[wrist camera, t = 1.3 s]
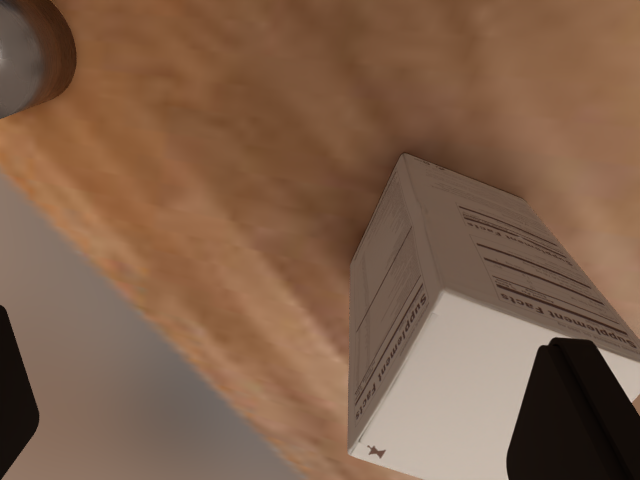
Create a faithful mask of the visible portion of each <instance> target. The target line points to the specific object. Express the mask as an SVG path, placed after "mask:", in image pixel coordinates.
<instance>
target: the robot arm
mask: <svg viewBox="0 0 640 480" xmlns="http://www.w3.org/2000/svg"><path fill="white" fill-rule="evenodd" d="M38 423H39V411H38V408H37V405H36V402H35V398H34V395H33V392H32V389H31V386H30V383H29V380H28V376H27V373H26V370H25V367H24V364H23V361H22V358H21V355H20V352H19V348H18V345H17V342H16V339H15V336H14V333H13V330H12V327H11V324H10V320H9V317H8V314H7V311H6V309H5V308H4V307H3V306H1V305H0V480H1V479H2V478H3V476H4V475H5V473H6V472H7V471H8V469H9V468H10V467H11V465H12V464H13V462H14V461H15V460H16V458H17V457H18V455H19V454H20V453H21V451H22V450H23V449H24V447H25V446H26V444H27V443H28V442H29V440H30V439H31V437H32V436H33V435H34V433H35V431H36V429H37V427H38ZM506 469H507V475H508V479H509V480H640V416H639V414H638V413H637V411H636V409H635V408H634V406H633V405H632V403H631V401H630V400H629V398H628V396H627V395H626V393H625V392H624V390H623V388H622V387H621V385H620V384H619V382H618V380H617V379H616V377H615V375H614V374H613V372H612V371H611V369H610V367H609V366H608V364H607V363H606V361H605V359H604V358H603V356H602V354H601V353H600V351H599V350H598V348H597V346H596V345H595V344H594V343H593V341H591V340H587V339H574V338H560V337H555V338H552V339H551V340H550V342H549V344H548V345H541V346H540V347H539V348H538V350H537V353H536V357H535V360H534V363H533V367H532V370H531V374H530V377H529V380H528V384H527V387H526V390H525V394H524V397H523V401H522V404H521V407H520V411H519V414H518V418H517V421H516V424H515V428H514V431H513V434H512V438H511V441H510V445H509V448H508V451H507V456H506Z"/></svg>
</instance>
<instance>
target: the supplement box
mask: <svg viewBox="0 0 640 480" xmlns="http://www.w3.org/2000/svg"><path fill="white" fill-rule="evenodd" d="M349 309H350V313H349V314H350V316H349V379H348V454H349V455H351V456H353V457H356V458H359V459H362V460H365V461H368V462H371V463H374V464H377V465H380V466H383V467H386V468H389V469H392V470H395V471H399V472H402V473H405V474H408V475H411V476H414V477H418V478H421V479H424V480H509V479H508V475H507V469H506V456H507V451H508V448H509V445H510V441H511V438H512V434H513V431H514V428H515V424H516V421H517V418H518V414H519V411H520V407H521V404H522V401H523V397H524V394H525V390H526V387H527V384H528V380H529V377H530V374H531V370H532V367H533V363H534V360H535V357H536V353H537V350H538V348H539V347H540V346H541V345H548V344H549V342H550V340H551V339H552V338H555V337H560V338H574V339H587V340H591V341H593V343H594V344H595V345H596V346H597V348H598V350H599V351H600V353H601V354H602V356H603V358H604V359H605V361H606V363H607V364H608V366H609V367H610V369H611V371H612V372H613V374H614V375H615V377H616V379H617V380H618V382H619V384H620V385H621V387H622V388H623V390H624V392H625V393H626V395H627V396H628V398H629V400H630V401H631V403H632V402H633V401H634V400H635V398H636V397H637V396H638V395H639V394H640V340H639V339H638V337H637V336H636V335H635V334H634V333H633V331H632V330H631V329H630V328H629V326H628V325H627V324H626V323H625V322H624V320H623V319H622V318H621V317H620V315H619V314H618V313H617V312H616V311H615V309H614V308H613V307H612V306H611V305H610V303H609V302H608V301H607V300H606V298H605V297H604V296H603V295H602V294H601V292H600V291H599V290H598V289H597V288H596V286H595V285H594V284H593V283H592V281H591V280H590V279H589V278H588V276H587V275H586V274H585V273H584V272H583V270H582V269H581V268H580V267H579V265H578V264H577V263H576V262H575V261H574V259H573V258H572V257H571V256H570V255H569V253H568V252H567V251H566V250H565V248H564V247H563V246H562V245H561V244H560V242H559V241H558V240H557V239H556V238H555V236H554V235H553V234H552V233H551V232H550V230H549V229H548V228H547V227H546V226H545V224H544V223H543V222H542V221H541V219H540V218H539V217H538V216H537V214H536V213H535V212H534V211H533V210H532V208H531V207H530V206H529V205H528V203H527V202H526V201H525V200H524V199H522V198H519V197H517V196H514V195H512V194H509V193H507V192H504V191H502V190H499V189H497V188H494V187H492V186H489V185H487V184H484V183H481V182H479V181H476V180H474V179H471V178H469V177H466V176H463V175H461V174H458V173H456V172H453V171H451V170H448V169H445V168H443V167H440V166H438V165H435V164H433V163H430V162H427V161H425V160H422V159H420V158H417V157H415V156H412V155H409V154H407V153H403V154H402V155H401V156H400V158H399V160H398V162H397V164H396V166H395V168H394V170H393V172H392V174H391V176H390V179H389V181H388V183H387V185H386V187H385V189H384V191H383V194H382V196H381V198H380V200H379V203H378V205H377V207H376V209H375V212H374V214H373V216H372V218H371V220H370V223H369V225H368V227H367V229H366V231H365V233H364V236H363V238H362V240H361V242H360V244H359V246H358V248H357V251H356V253H355V255H354V257H353V259H352V262H351V264H350V308H349Z"/></svg>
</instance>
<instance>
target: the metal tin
mask: <svg viewBox="0 0 640 480" xmlns="http://www.w3.org/2000/svg"><path fill="white" fill-rule="evenodd" d="M75 69H76V47H75V43H74V39H73V36H72V33H71V30H70V28H69V26H68V24H67V22H66V20H65V19H64V17H63V16H62V14H61V13H60V12H59V10H58V9H57V8H56V7H55V6H54V4H53V3H52V2H51V1H50V0H0V119H1V118H4V117H7V116H9V115H12V114H14V113H17V112H20V111H22V110H25V109H28V108H30V107H33V106H35V105H38V104H41V103H43V102H46V101H48V100H51V99H53V98H55V97H57V96H59V95H60V94H61V93H62V92H64V91H65V89H66V88H67V87H68V86H69V84H70V82H71V81H72V78H73V76H74V73H75Z"/></svg>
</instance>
